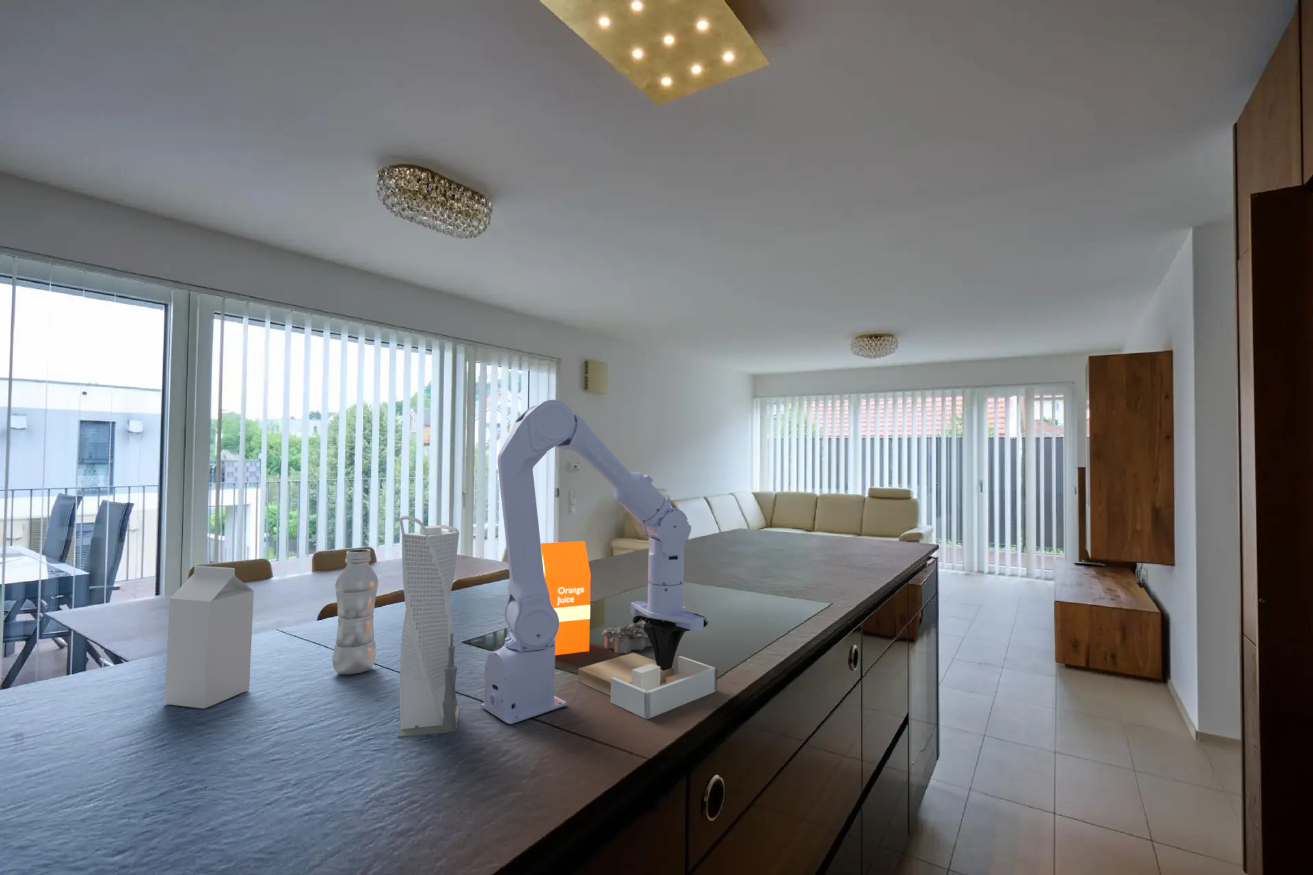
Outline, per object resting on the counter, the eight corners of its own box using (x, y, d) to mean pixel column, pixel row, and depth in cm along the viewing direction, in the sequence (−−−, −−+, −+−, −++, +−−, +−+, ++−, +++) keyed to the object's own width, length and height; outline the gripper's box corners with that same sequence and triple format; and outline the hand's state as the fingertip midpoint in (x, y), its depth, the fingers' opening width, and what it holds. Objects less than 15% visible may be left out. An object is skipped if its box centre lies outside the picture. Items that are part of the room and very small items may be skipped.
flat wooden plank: (618, 699, 87) (618, 685, 87) (577, 681, 94) (578, 668, 94) (674, 679, 96) (674, 667, 96) (633, 664, 103) (633, 652, 103)
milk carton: (204, 709, 82) (211, 572, 82) (163, 705, 83) (170, 570, 84) (249, 690, 89) (255, 564, 89) (210, 686, 90) (217, 562, 91)
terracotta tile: (666, 677, 90) (665, 690, 90) (685, 684, 87) (685, 698, 87) (683, 671, 93) (683, 684, 93) (702, 678, 90) (702, 691, 90)
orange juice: (533, 644, 113) (535, 540, 114) (577, 639, 117) (579, 538, 118) (543, 657, 106) (545, 545, 107) (589, 651, 110) (591, 543, 111)
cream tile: (631, 696, 88) (640, 700, 86) (632, 669, 88) (641, 673, 86) (650, 689, 90) (660, 693, 89) (651, 663, 91) (660, 666, 89)
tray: (646, 719, 81) (647, 693, 81) (610, 702, 86) (610, 678, 86) (716, 690, 91) (717, 668, 91) (680, 677, 97) (680, 655, 97)
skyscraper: (385, 740, 74) (393, 518, 75) (396, 714, 82) (403, 513, 83) (456, 733, 76) (462, 517, 78) (459, 708, 84) (465, 512, 85)
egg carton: (618, 656, 108) (619, 634, 108) (598, 646, 114) (598, 624, 114) (665, 646, 114) (665, 625, 114) (643, 637, 120) (643, 616, 120)
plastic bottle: (384, 666, 100) (388, 548, 101) (360, 680, 93) (364, 554, 94) (348, 664, 101) (352, 547, 102) (322, 678, 94) (327, 553, 95)
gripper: (716, 585, 91) (716, 674, 91) (652, 572, 102) (651, 651, 101) (686, 592, 86) (685, 685, 86) (621, 577, 97) (620, 661, 96)
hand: (664, 668), depth 93 cm, fingers closed
